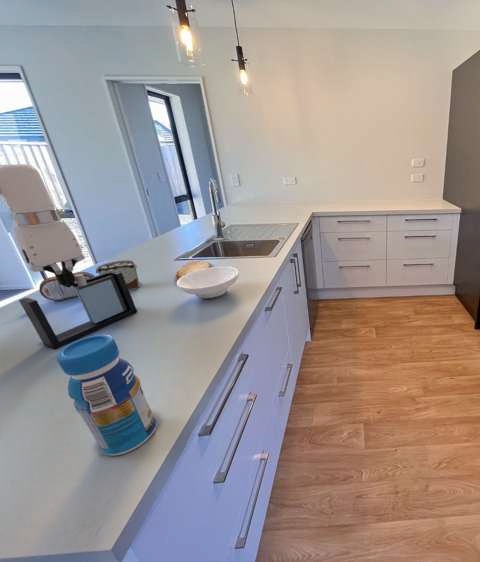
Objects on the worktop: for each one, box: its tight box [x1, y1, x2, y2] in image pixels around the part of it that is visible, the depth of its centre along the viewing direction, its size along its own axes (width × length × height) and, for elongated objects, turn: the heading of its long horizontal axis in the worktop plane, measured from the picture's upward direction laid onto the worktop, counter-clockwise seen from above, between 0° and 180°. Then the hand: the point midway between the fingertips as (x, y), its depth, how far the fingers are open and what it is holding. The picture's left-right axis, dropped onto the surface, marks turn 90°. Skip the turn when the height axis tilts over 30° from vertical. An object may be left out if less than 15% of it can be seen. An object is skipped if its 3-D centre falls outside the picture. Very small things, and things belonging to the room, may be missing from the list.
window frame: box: [18, 270, 138, 350], centre depth 86 cm, size 21×5×14 cm, turn 158°
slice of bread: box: [175, 260, 212, 281], centre depth 126 cm, size 18×18×4 cm
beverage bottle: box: [56, 334, 158, 456], centre depth 50 cm, size 8×8×20 cm
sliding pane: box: [74, 274, 127, 323], centre depth 88 cm, size 9×2×15 cm, turn 158°
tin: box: [39, 271, 96, 301], centre depth 107 cm, size 15×3×8 cm, turn 130°
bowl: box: [176, 266, 239, 299], centre depth 107 cm, size 20×20×7 cm
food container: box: [95, 259, 141, 291], centre depth 113 cm, size 12×6×10 cm, turn 111°
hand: (69, 285), depth 81 cm, fingers closed
